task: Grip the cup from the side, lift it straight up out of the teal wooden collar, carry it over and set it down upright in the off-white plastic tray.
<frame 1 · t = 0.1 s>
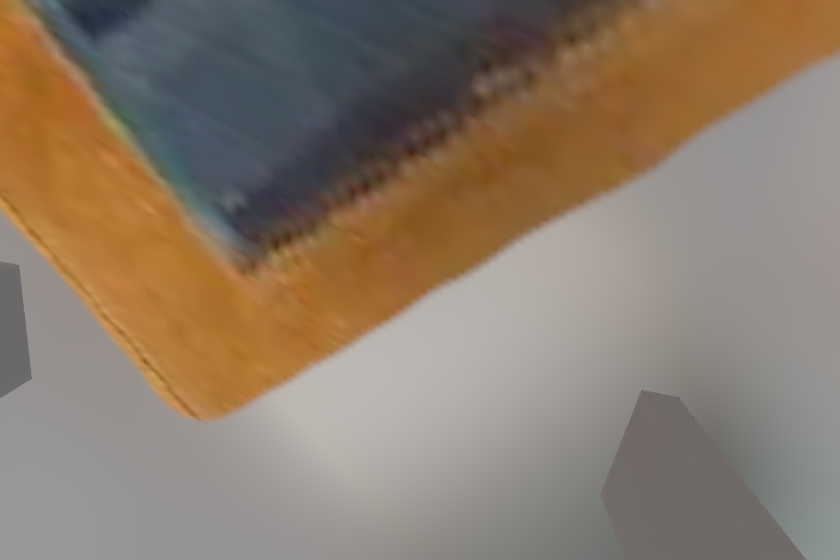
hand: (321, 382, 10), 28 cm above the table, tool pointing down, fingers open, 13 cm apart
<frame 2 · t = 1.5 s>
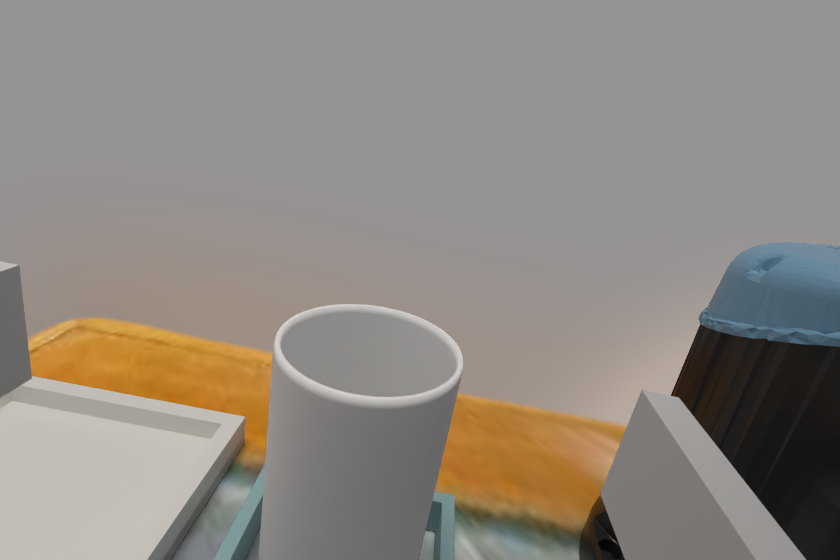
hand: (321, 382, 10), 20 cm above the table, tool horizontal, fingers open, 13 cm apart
tray: (10, 532, 26), on the table
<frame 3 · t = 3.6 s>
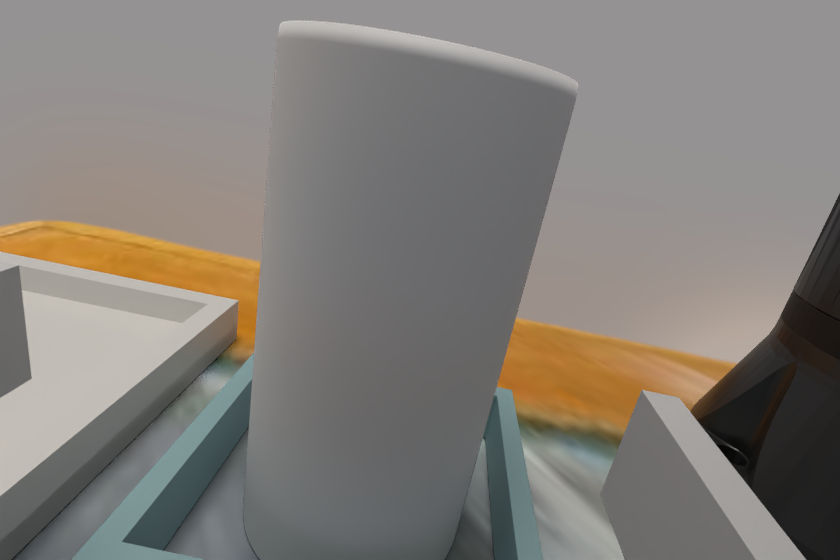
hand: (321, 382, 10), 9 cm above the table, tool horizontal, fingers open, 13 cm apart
cup: (353, 503, 19), resting in collar
collar: (354, 499, 19), on the table
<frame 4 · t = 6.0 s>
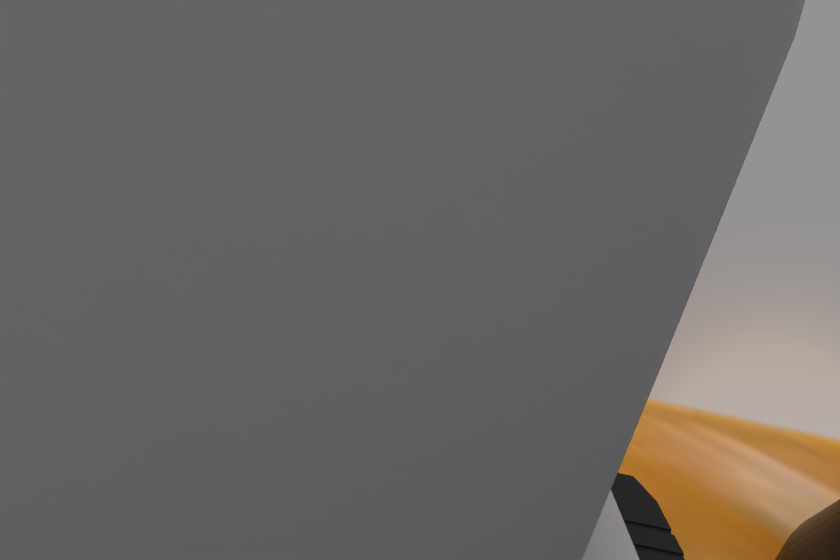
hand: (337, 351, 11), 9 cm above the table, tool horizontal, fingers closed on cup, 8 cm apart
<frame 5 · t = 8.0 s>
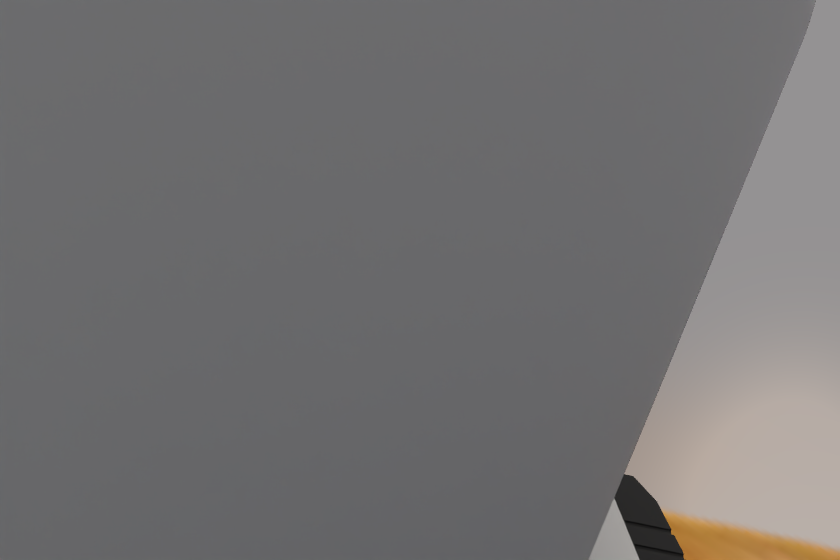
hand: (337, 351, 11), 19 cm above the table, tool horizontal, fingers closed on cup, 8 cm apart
when the fingers open (11 cm above the table, at t = 10.3 s): cup stays where it is, resting on tray.
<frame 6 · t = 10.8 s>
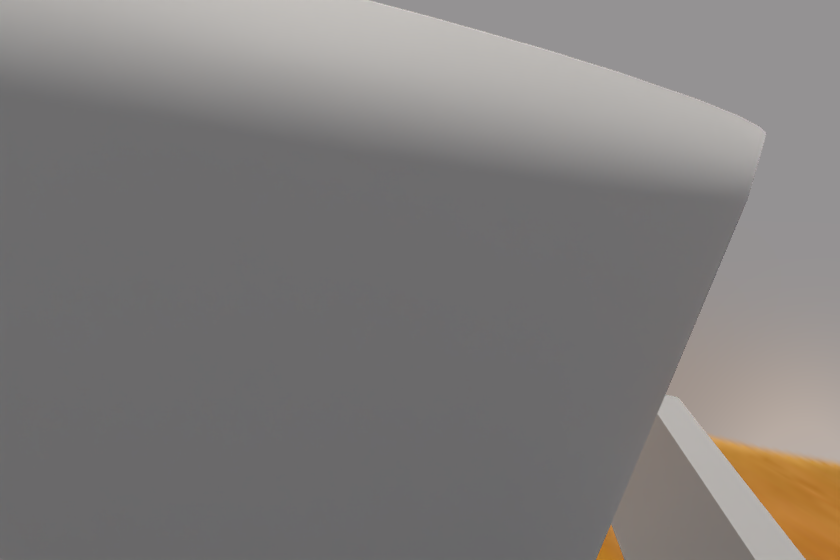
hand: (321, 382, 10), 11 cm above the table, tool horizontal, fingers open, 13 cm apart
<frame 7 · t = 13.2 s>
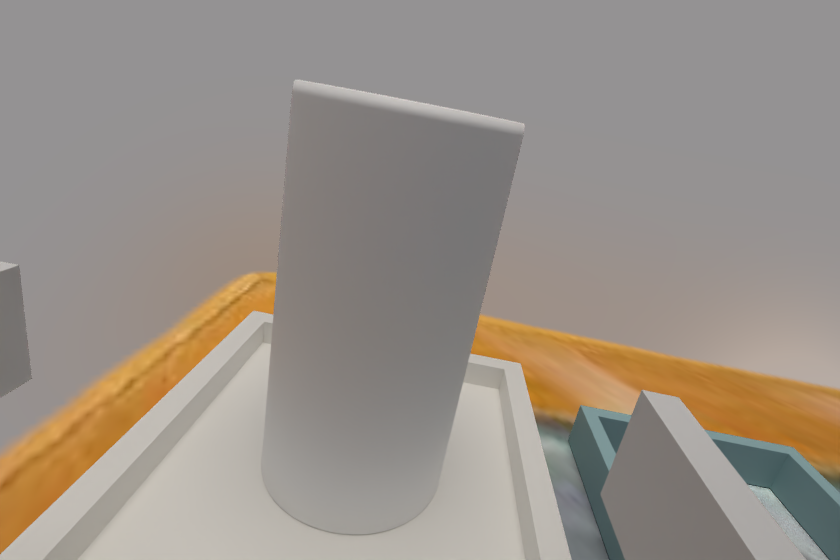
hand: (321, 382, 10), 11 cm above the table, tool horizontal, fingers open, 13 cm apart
cup: (352, 463, 22), point 1 cm above the table, touching tray
tray: (349, 475, 23), on the table
collar: (728, 551, 22), on the table
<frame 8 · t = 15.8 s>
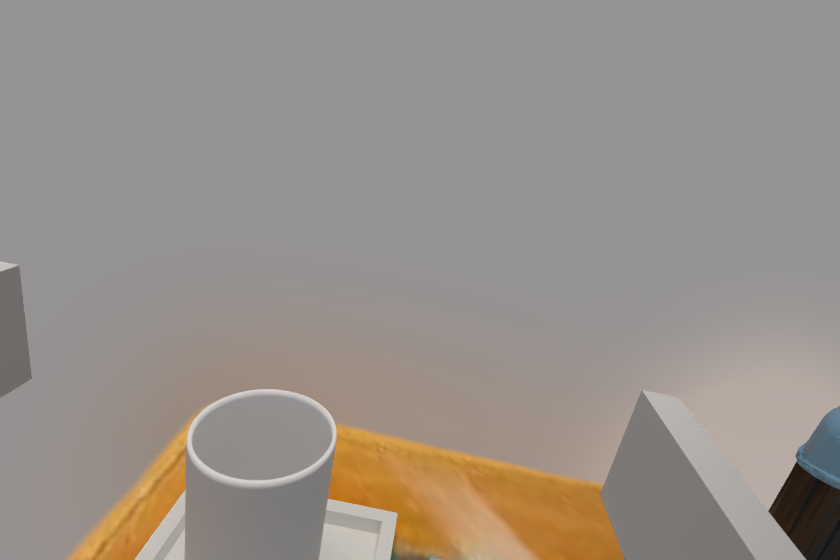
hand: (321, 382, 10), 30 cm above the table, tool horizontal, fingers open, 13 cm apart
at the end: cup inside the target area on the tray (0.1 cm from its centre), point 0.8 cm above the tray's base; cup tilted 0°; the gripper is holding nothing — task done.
